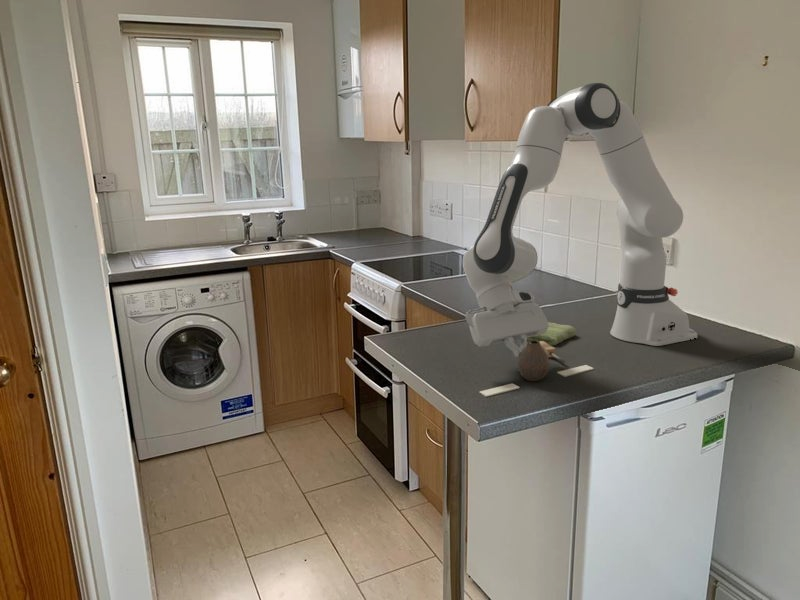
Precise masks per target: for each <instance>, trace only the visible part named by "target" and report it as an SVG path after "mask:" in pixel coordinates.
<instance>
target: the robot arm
mask: <svg viewBox="0 0 800 600" xmlns="http://www.w3.org/2000/svg"><path fill="white" fill-rule="evenodd" d="M587 134H589V135H590V136H591V137H592V138H593V139H594V141H595V144H596V148H597V150H598V153H599V156H600V158H601V161H602V163H603V165H604V168H605V172H606V173H607V176H608V178H609V181H610V184H612V186H613V188H615V190H616V191H617V193H618V195H619V196H620V199H619V200H618V203H617V205H616V216H617V219H618V226H619V239H620V248H621V264H620V265H621V266H620V281H619V283H618V287H617V296H616V299H617V301H616V302H617V307H616V312H615V316H614V321H613V323H612V326H611V328H610V332H609V333H610V335H611V336H612V337H614V338H616V339H618V340H621V341H625V342H630V343H634V344H635V343H637V344H644V345H649V346H654V347H658V346H659V347H660V346H664V345H671V344H675V343H679V342H681V343H682V342H685V341H690V339H691V340H695V339H694V338H696V339H698V333H697V332H696V331H695V330H694V329H692V328H690V321H689V317H688V314H687V313H686V312H685V311H684V310H683V309H682V308H681V307H679V306H678V305H676V304H675V303H674V301H672V300H671V299H670V297H669V296H671V297H676V296H677V295H678V293H679V292H678V289H677V288H673V287H668V286H666V285H665V279H666V269H667V268H666V267H667V255H666V252H665V249H664V243H663V238H668V237H670V236H672V235H674V234H675V233H677V231H679V230H680V228H681V227H682V224H683V222H684V212H683V208H682V206H680V204H679V203H678V202H677V201H676V199H675V198H674V196H673V194H672V192H671V190H670V189H669V187H668V184H667V183H666V181H665V180H664V178H663V177H662V175H661V173H660V172H659V170H658V168H657V166H656V165H655V162H654V160H653V157H652V154H651V152H650V150H649V147H648V145H647V141H646V139H645V136H644V134H643V132H642V129H641V127H640V125H639V122H638V121H637V119H636V116H635V115H634V113H633V112H632V110H631V109H630V107H629V105H628V104H627V103H626V102H624V101H622V100H619V98H618V95H617V94H616V92H615V91H614V90H613V88H611V86H609V85H607V84H605V83H603V82H593V83H592V82H591V83H588V84H585V85H584V86H580V87H576V88H574V89H570V90H568V91H566V93H564V94H562V95H561V96H558V97H555V98H554V99H552V100H550V102H549V103H547V105H540V106H536V107H534V108H533V109H531V110H530V111H529V112H528V113H527V115H526V116H525V119H524V121H523V123H522V127H521V128H520V132H519V135H518V138H517V141H516V146H515V149H514V153H513V155H512V160H511V162H510V165H509V166H508V167H507V168H506V170H505V171H504V173H503V175H502V177H501V179H500V181H499V184H498V186H497V190H496V192H495V195H494V198H493V201H492V204H491V208H490V210H489V213H488V216H487V218H486V221H485V224H484V226H483V228H482V230H481V231H480V233H479V235H478V236H477V238H476V240H475V242H474V244H473V245H472V246H471V247H470V248H469V249H468V250H466V251H465V252H464V254H463V256H462V267H463V270H464V274H465V276H466V279H467V281H468V284H469V286H470V289H472V291H473V292H474V293H475V295H476V303H477V304H478V306H479V307H477V308H476V309H475V308H472V309H469V310H468V311H467V312H466V313H465V320H466V323H467V325H468V326H469V327H468V328H469V331H470V334H471V337H472V340H473V342H474V344H475V345H476V346H477V347H480V348H483V347H487V346H491V345H497V344H501V343H504V345H505V347H507V348H508V349H509V350H510V351H511V352H513V355H514V357H515V358H519V355H520V353H521V352H522V350H523V349H524V348H525V347H526V346H527V345H528V340H527V337H532V336H537V335H541V334H543V333H544V332H545V331H546V330H547V329H548V327H549V323H550V322H549V321H548V319H547V317H546V315H545V312H544V311H543V310H542V308H541V306H540V305H539V304H538V303H536V302H534V301H535V299H536V298H535V296H534V294H533V293H531V292H525V291H521V290H516V289H513V288H512V289H511V287H512V286H511V287H510V285H511V284H512V283H515V282H518V281H520V280H522V279H524V278H526V277H528V276H529V275H531V274H532V273H533V272H534V270H535V269H536V267H537V264H538V253H537V252H538V251H537V250H536V248H535V246H533V244H531V243H530V242H528V241H526V240H524V239H522V238H519V237H515V236H514V233H513V228H514V225H515V223H516V222H515V221H516V219H517V215H518V213H519V210H520V206H521V204H522V201H523V199H524V197H525V196H526V195H527V194H528V193H530V192H533V191H539V190H541V189H544V188H545V187H547V186H549V185H550V184H551V183H553V181H554V179H555V177H556V175H557V173H558V170H559V167H560V164H561V163H560V162H561V160H562V159H561V158H562V154H563V150H564V143H565V142H566V140H567V139H570V138H577V137H581V136H584V135H587ZM548 322H549V323H548ZM516 340H517V343H518V344H519V345H520V346H518V345H517V344H516V343H515V341H516Z"/></svg>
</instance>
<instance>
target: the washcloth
mask: <svg viewBox="0 0 800 600" xmlns="http://www.w3.org/2000/svg"><path fill="white" fill-rule="evenodd" d="M548 323H549V327H548V329H547V330H546V331H545V332H544V333H543V334H541V335H537V336H532V337H527V342H529V341H532V340H535V341H539V342H540V341H544V342H545V343H547V344H549V345H550V346H552V347H553V346H556V345H558V344H560V343H563V342H564V341H565V340H568V339H569V340H570V339H571V338H574V337H575V336H576V335H577V330H576V329H575V327H574V326H571V325H567V324H558V323H555V322H549V321H548Z"/></svg>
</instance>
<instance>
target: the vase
mask: <svg viewBox="0 0 800 600" xmlns="http://www.w3.org/2000/svg"><path fill="white" fill-rule="evenodd" d="M517 359H518V360H517V369H518V372H519V374H520V375H521V377H522V378H523V379H524V380H526V381H529V382H538V381H541V380H542V379H544V378H545V377H546V376H547V374H548V371H549V366H550V360H549V358H548V356H547V354H546V352H545V351H544V349H543V348H542V347H541V345H540V342H539V341H535V340H532V341H528V342H527V346H526V347H525V348H524V349H523V350H522V352H521V353H520V355H519V357H517Z"/></svg>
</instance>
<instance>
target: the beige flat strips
mask: <svg viewBox="0 0 800 600" xmlns="http://www.w3.org/2000/svg"><path fill="white" fill-rule="evenodd" d="M593 370H594V367H592V366H589V365H587V364H584V365H579V366H577V367H576V366H575V367H571V368H568V369H564V370H560V371H556V373H557V374H558V375H559V376H562V377H565V378H566V377H569V376H574V375H577V374H581V373H586V372H588V371H593ZM519 389H520V386H518V385H516V384H514V383H508V384H504V385H500V386H496V387H492V388H488V389H483V390H479V394H480V393H481V394H480V395H481V396H484V397H485V398H486V397H487V398H488V397H491V396H496V395H501V394H503V393H507V392H511V391H515V390H519Z"/></svg>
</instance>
